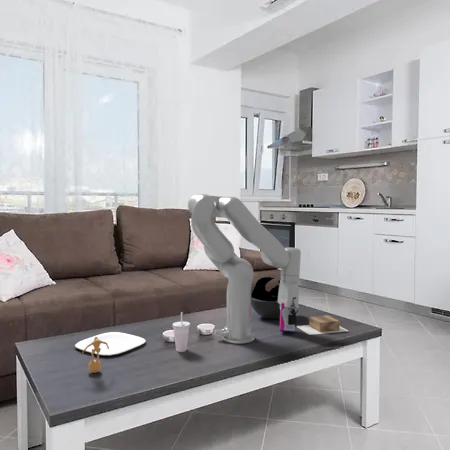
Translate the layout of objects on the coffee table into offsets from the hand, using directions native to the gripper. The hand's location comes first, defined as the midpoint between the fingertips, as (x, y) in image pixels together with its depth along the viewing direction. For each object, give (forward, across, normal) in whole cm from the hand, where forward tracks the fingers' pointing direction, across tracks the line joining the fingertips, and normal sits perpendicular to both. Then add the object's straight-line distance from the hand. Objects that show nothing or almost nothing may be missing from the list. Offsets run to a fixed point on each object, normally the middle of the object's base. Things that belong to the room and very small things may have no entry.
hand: (287, 321), depth 178 cm
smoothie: (+7, +6, -45) cm, 46 cm away
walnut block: (+4, 0, +17) cm, 18 cm away
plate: (+9, -6, -69) cm, 69 cm away
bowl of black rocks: (+5, -23, +3) cm, 24 cm away
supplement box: (+4, 0, 0) cm, 4 cm away
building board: (+5, 0, +16) cm, 17 cm away
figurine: (+9, +19, -75) cm, 77 cm away
